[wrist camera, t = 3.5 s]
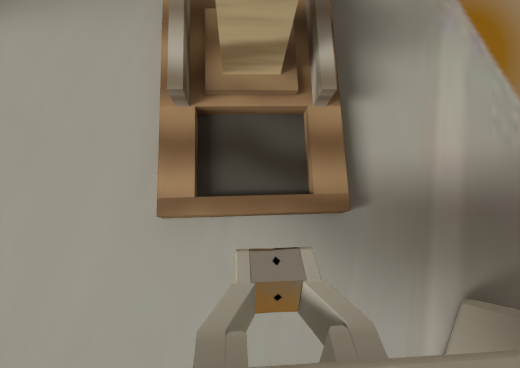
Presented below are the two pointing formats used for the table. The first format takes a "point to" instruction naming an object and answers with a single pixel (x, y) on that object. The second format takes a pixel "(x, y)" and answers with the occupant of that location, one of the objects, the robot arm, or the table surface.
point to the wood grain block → (250, 48)
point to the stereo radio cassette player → (484, 328)
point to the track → (249, 127)
